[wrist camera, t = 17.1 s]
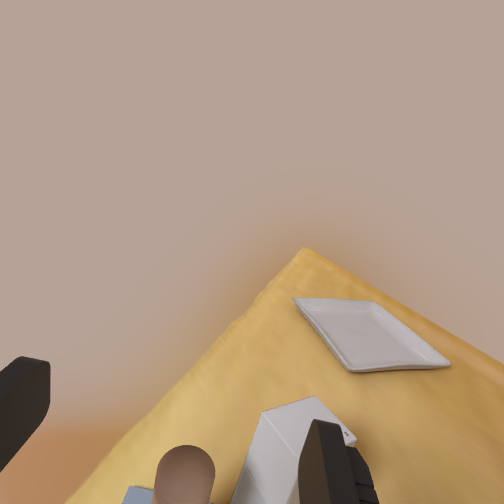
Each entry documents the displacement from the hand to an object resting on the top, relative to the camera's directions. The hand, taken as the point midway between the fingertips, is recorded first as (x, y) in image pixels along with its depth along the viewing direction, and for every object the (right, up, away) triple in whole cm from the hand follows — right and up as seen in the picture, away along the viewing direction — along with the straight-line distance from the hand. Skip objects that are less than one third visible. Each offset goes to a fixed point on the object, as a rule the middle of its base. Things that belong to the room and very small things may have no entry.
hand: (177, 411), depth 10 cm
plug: (-6, -24, +20) cm, 31 cm away
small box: (+4, -24, +26) cm, 36 cm away
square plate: (+28, -16, +68) cm, 75 cm away
